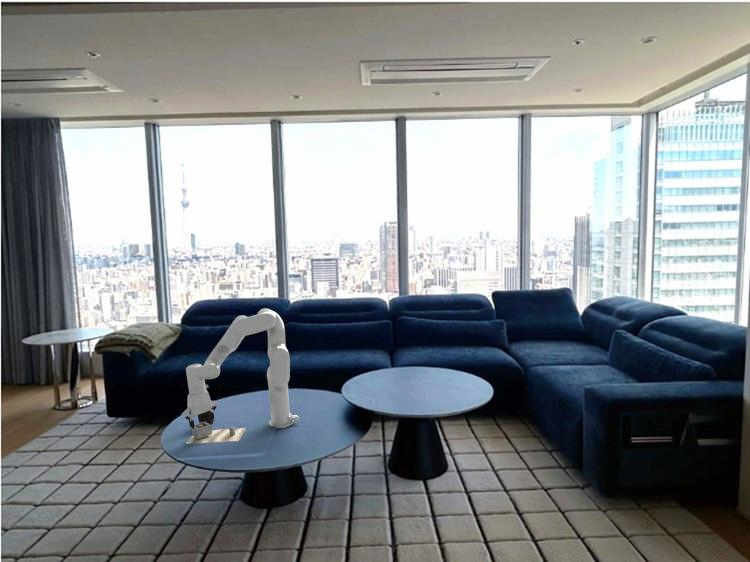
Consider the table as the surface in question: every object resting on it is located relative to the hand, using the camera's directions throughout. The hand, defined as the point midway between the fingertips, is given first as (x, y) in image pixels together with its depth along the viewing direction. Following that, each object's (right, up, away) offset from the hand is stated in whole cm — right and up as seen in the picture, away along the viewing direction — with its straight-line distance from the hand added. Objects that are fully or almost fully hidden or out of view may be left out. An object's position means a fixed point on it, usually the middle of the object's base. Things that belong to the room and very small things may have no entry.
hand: (202, 424), depth 223 cm
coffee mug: (-4, -6, +17) cm, 19 cm away
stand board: (+7, -7, 0) cm, 10 cm away
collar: (0, -5, 0) cm, 5 cm away
